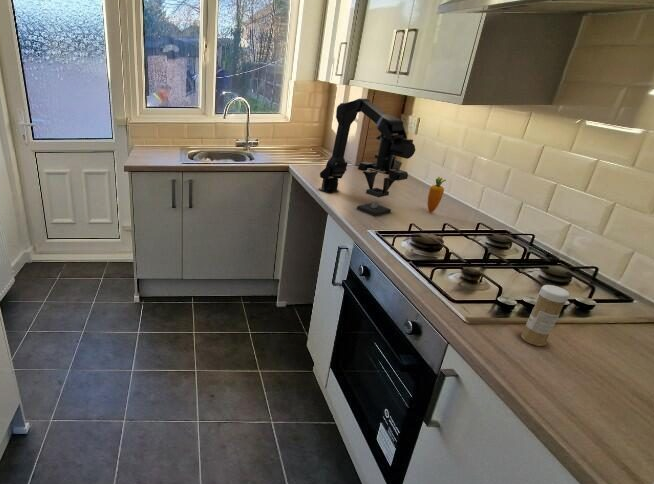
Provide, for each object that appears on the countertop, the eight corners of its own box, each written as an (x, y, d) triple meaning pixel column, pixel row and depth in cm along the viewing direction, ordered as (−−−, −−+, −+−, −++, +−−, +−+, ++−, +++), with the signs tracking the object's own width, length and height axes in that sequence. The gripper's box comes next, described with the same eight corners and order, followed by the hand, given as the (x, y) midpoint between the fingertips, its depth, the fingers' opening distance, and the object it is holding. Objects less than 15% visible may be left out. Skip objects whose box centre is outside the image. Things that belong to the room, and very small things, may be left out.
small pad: (365, 193, 168) (366, 189, 167) (375, 191, 170) (376, 187, 170) (378, 197, 163) (379, 193, 162) (388, 195, 166) (389, 191, 165)
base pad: (356, 209, 171) (358, 200, 170) (371, 205, 175) (373, 196, 173) (375, 216, 164) (377, 206, 162) (390, 212, 168) (392, 203, 166)
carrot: (425, 209, 171) (435, 174, 165) (438, 212, 168) (449, 177, 162) (421, 212, 168) (431, 176, 162) (435, 215, 165) (445, 179, 158)
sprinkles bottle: (521, 331, 96) (543, 281, 91) (546, 340, 94) (570, 289, 88) (519, 340, 93) (541, 289, 88) (545, 350, 90) (569, 297, 85)
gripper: (421, 155, 156) (411, 195, 162) (379, 146, 171) (371, 183, 177) (402, 158, 151) (392, 199, 157) (360, 149, 166) (353, 186, 172)
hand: (377, 191), depth 166 cm, fingers closed on small pad, 6 cm apart
